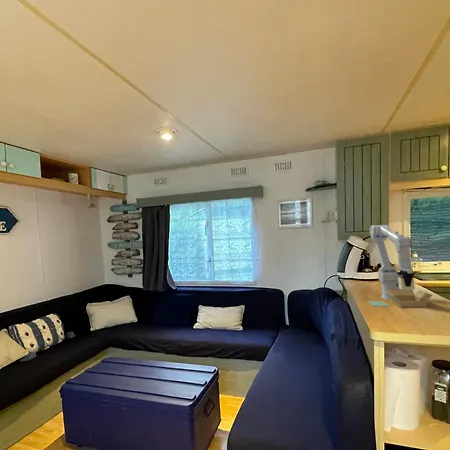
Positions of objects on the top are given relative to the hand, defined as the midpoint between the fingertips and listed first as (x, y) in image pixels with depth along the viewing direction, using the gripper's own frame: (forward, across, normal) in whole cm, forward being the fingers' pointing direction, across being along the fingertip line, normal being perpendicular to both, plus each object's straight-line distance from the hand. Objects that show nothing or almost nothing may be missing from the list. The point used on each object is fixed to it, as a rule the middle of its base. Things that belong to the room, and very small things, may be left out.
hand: (406, 285), depth 157 cm
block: (+2, 0, 0) cm, 2 cm away
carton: (+10, -1, 0) cm, 10 cm away
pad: (+10, 0, -14) cm, 17 cm away
